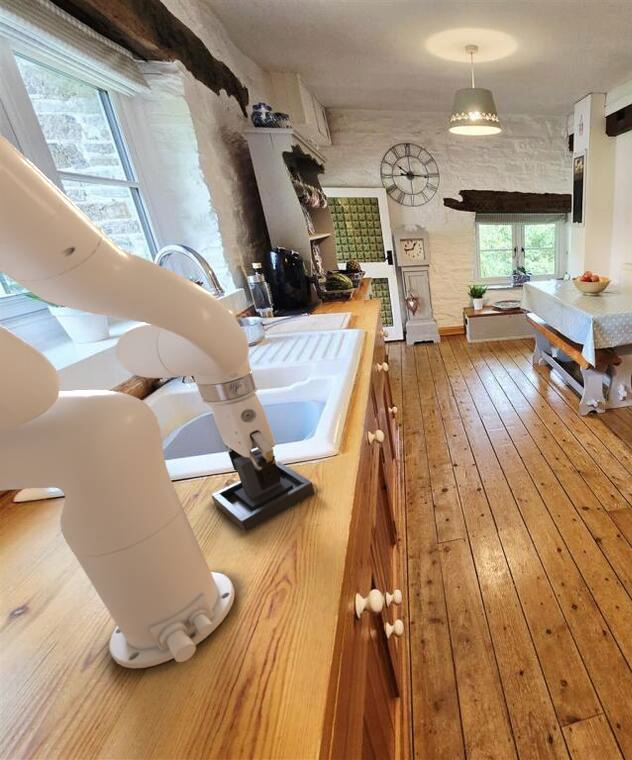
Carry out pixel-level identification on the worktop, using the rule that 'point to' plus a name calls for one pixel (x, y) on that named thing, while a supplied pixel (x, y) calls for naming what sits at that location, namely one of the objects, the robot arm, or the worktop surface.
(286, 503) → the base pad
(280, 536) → the worktop surface
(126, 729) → the worktop surface
